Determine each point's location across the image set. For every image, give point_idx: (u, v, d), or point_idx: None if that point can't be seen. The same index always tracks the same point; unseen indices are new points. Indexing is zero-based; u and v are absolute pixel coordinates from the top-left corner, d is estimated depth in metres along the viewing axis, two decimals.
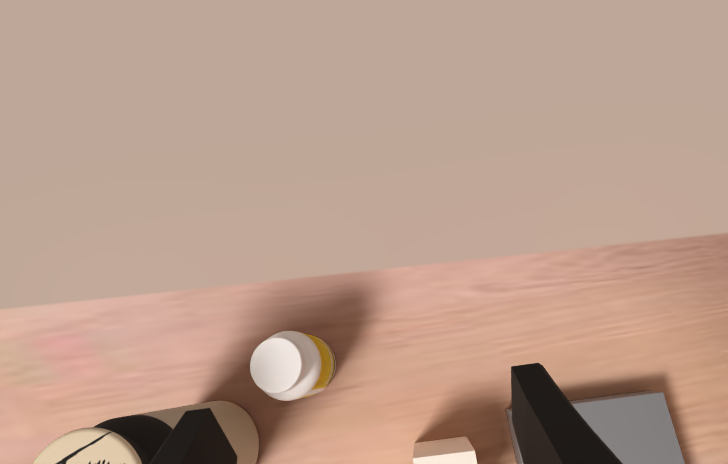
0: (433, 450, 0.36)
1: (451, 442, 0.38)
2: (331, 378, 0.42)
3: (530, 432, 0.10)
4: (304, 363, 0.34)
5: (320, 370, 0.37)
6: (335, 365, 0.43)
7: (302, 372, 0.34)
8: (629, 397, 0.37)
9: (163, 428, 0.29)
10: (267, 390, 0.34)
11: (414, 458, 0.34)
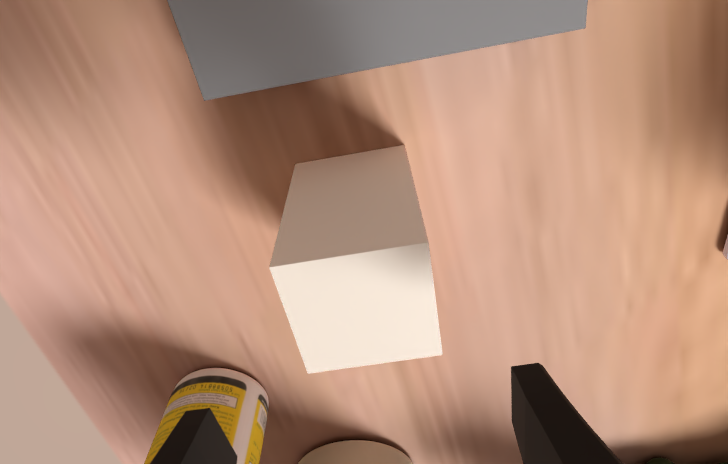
0: None
1: None
2: (230, 382, 0.24)
3: (530, 432, 0.10)
4: None
5: None
6: (211, 370, 0.25)
7: None
8: None
9: None
10: None
11: None
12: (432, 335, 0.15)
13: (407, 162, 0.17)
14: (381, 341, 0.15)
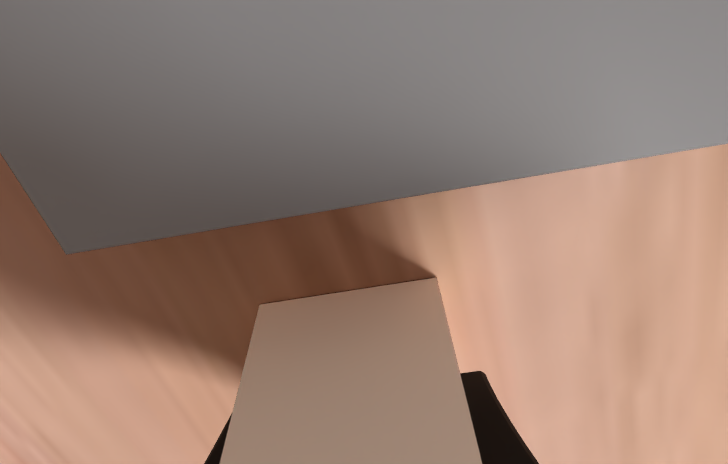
0: None
1: None
2: None
3: None
4: None
5: None
6: None
7: None
8: None
9: None
10: None
11: None
12: None
13: (446, 327, 0.10)
14: None
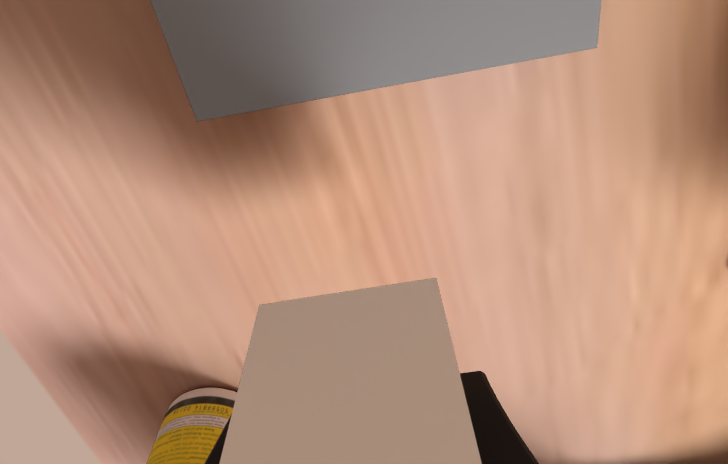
0: None
1: None
2: (225, 403, 0.24)
3: None
4: None
5: None
6: (206, 390, 0.24)
7: None
8: None
9: None
10: None
11: None
12: None
13: (445, 327, 0.10)
14: None
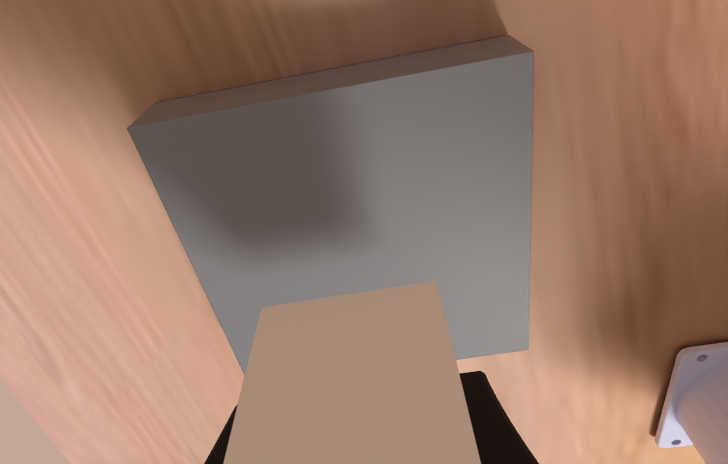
0: None
1: None
2: None
3: None
4: None
5: None
6: None
7: None
8: (164, 202, 0.15)
9: None
10: None
11: None
12: None
13: (446, 330, 0.10)
14: None
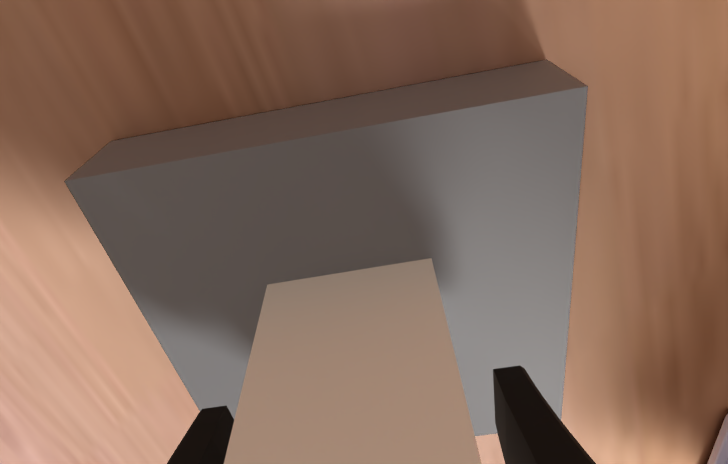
0: None
1: None
2: None
3: (510, 434, 0.10)
4: None
5: None
6: None
7: None
8: (118, 267, 0.12)
9: None
10: None
11: None
12: None
13: (439, 301, 0.11)
14: None
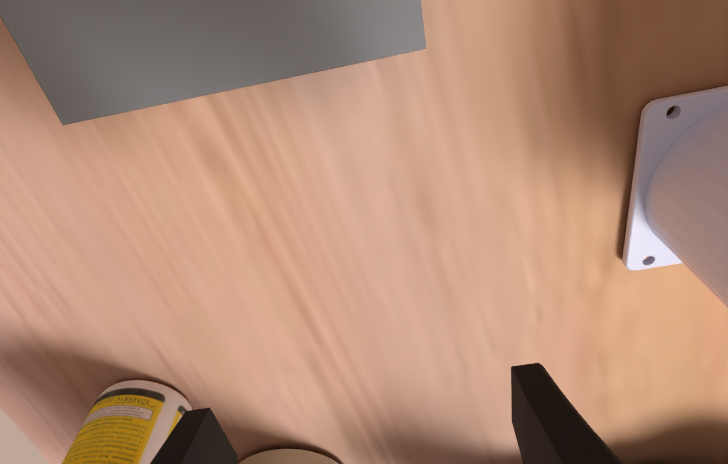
0: None
1: None
2: (147, 394, 0.25)
3: (530, 432, 0.10)
4: None
5: None
6: (130, 383, 0.25)
7: None
8: None
9: None
10: None
11: None
12: None
13: None
14: None
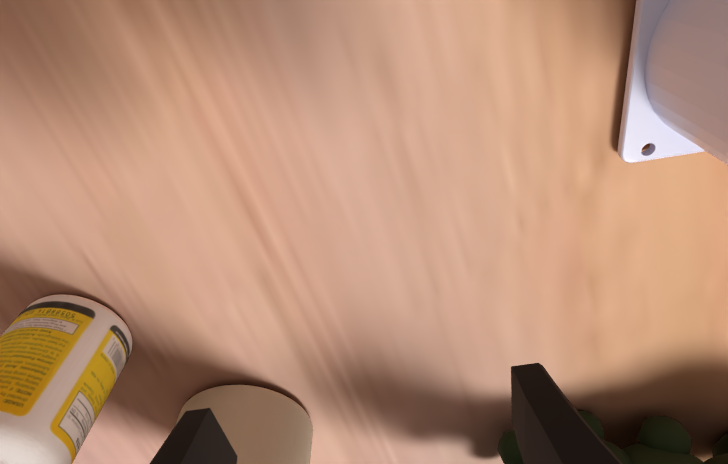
0: None
1: None
2: (74, 308, 0.22)
3: (530, 432, 0.10)
4: None
5: None
6: (56, 296, 0.22)
7: None
8: None
9: None
10: None
11: None
12: None
13: None
14: None
